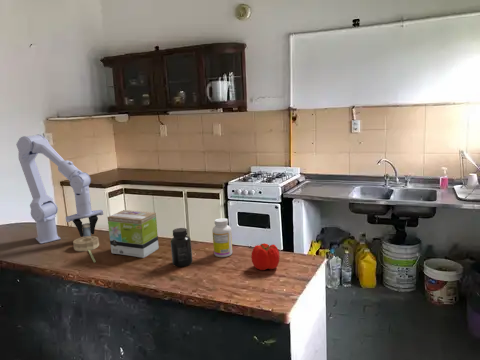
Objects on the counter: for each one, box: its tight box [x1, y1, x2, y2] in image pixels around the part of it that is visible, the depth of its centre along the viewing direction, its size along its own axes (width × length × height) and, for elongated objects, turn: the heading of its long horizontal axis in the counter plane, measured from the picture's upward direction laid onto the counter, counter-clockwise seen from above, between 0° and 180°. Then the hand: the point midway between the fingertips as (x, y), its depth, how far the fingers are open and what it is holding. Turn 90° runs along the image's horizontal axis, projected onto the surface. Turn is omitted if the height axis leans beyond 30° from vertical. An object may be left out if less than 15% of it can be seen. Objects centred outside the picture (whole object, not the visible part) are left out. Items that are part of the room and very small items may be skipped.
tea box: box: [107, 209, 160, 259], centre depth 152 cm, size 15×10×15 cm
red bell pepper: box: [251, 243, 281, 271], centre depth 132 cm, size 9×9×8 cm
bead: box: [72, 235, 100, 252], centre depth 161 cm, size 9×9×3 cm
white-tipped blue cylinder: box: [82, 222, 92, 237], centre depth 168 cm, size 3×3×7 cm
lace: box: [87, 250, 97, 263], centre depth 150 cm, size 14×1×1 cm, turn 28°
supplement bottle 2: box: [212, 217, 233, 258], centre depth 145 cm, size 7×7×13 cm
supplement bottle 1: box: [170, 227, 193, 268], centre depth 138 cm, size 7×7×12 cm
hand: (87, 235), depth 168 cm, fingers open, 4 cm apart
